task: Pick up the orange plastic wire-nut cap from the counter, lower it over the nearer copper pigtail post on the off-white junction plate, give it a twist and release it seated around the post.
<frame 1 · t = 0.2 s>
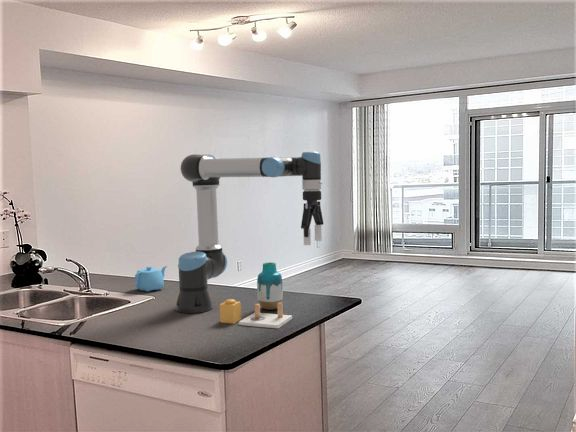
hand: (312, 242, 227), 28 cm above the worktop, fingers open, 13 cm apart
vase: (270, 309, 232), on the worktop
teapot: (152, 289, 277), on the worktop
junction plate: (266, 321, 214), on the worktop
wire nut: (230, 320, 216), on the worktop
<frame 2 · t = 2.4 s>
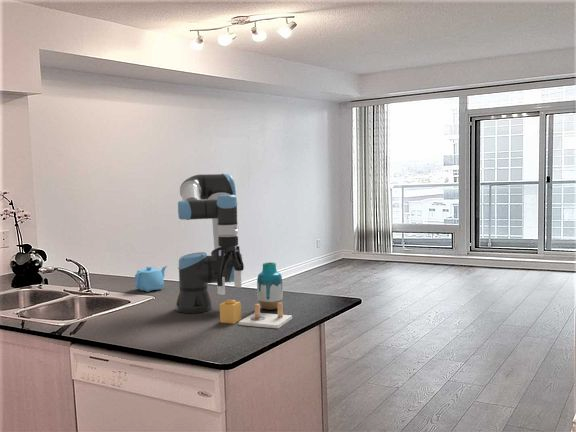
hand: (229, 290, 215), 12 cm above the worktop, fingers open, 13 cm apart
nothing on the worktop moved.
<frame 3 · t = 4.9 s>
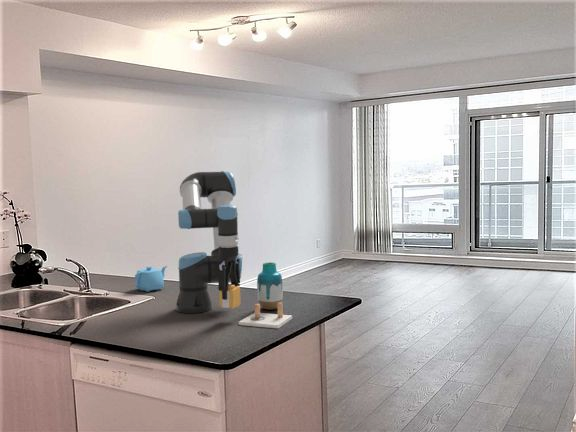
hand: (230, 304, 216), 6 cm above the worktop, fingers closed on wire nut, 6 cm apart
wire nut: (230, 305, 216), point 6 cm above the worktop, touching gripper
everything else where it was.
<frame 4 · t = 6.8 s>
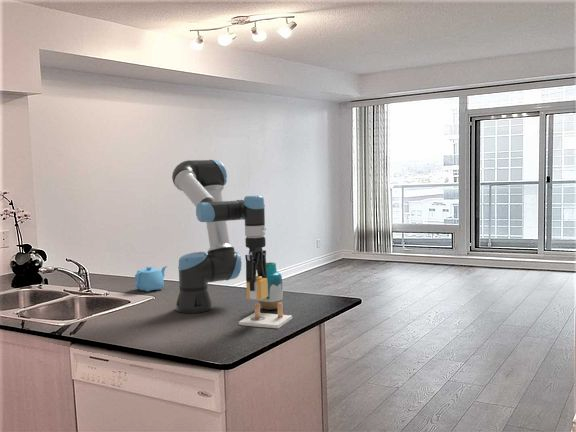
hand: (257, 297, 213), 10 cm above the worktop, fingers closed on wire nut, 6 cm apart
wire nut: (257, 297, 213), point 9 cm above the worktop, touching gripper
everything else where it was.
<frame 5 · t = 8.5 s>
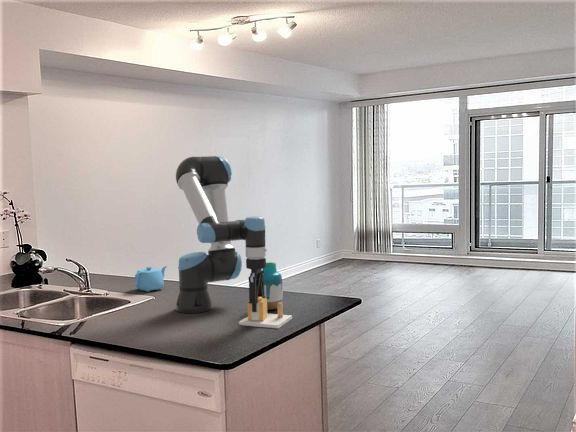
hand: (257, 317, 214), 2 cm above the worktop, fingers closed on wire nut, 6 cm apart
wire nut: (257, 318, 214), point 1 cm above the worktop, touching gripper
everything else where it was.
when the fingers open (2 cm above the worktop, at t = 9.0 s): wire nut stays where it is, resting on junction plate.
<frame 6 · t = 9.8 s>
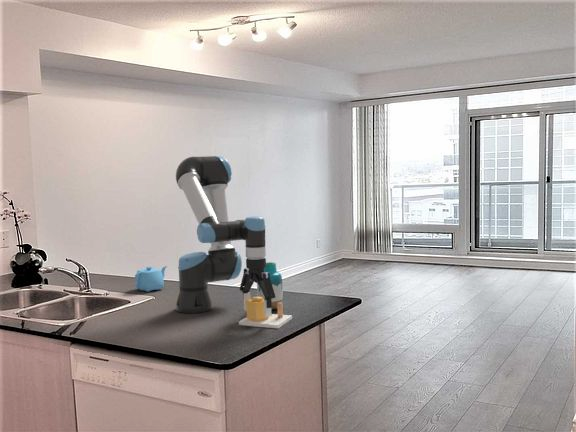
hand: (257, 312, 214), 3 cm above the worktop, fingers open, 13 cm apart
wire nut: (257, 318, 214), point 1 cm above the worktop, touching junction plate
everything else where it was.
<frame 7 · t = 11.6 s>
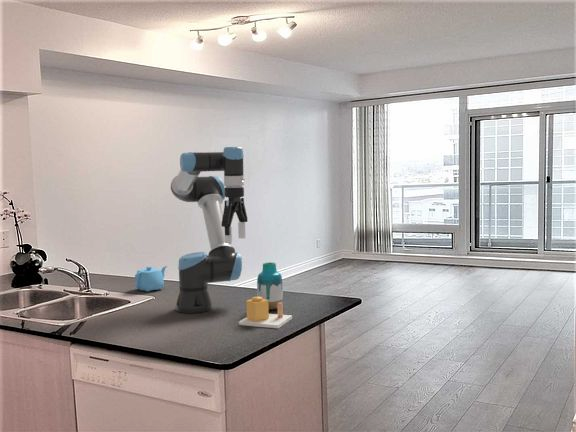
hand: (235, 240, 220), 30 cm above the worktop, fingers open, 13 cm apart
nothing on the worktop moved.
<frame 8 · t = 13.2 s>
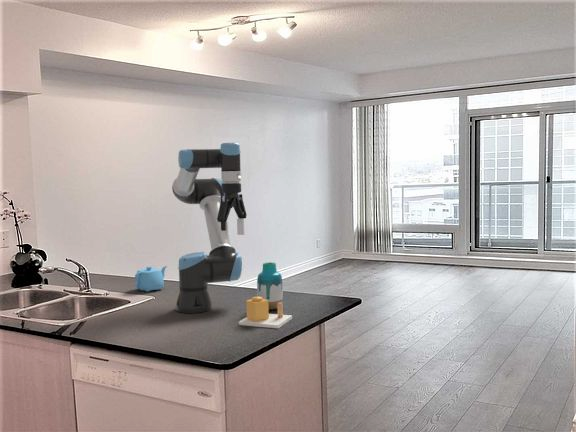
hand: (233, 236, 220), 32 cm above the worktop, fingers open, 13 cm apart
nothing on the worktop moved.
at the end: wire nut 0.1 cm from the target spot on the junction plate, point 1.3 cm above the junction plate's base; wire nut tilted 0°; the gripper is holding nothing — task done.
